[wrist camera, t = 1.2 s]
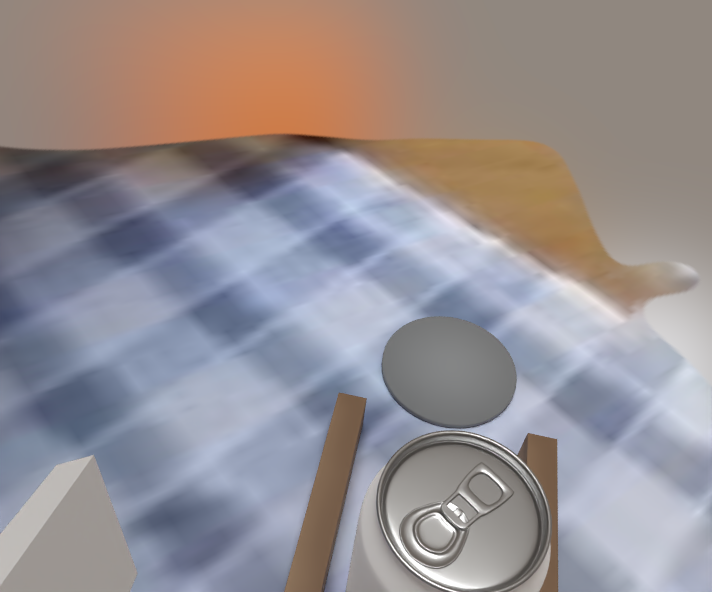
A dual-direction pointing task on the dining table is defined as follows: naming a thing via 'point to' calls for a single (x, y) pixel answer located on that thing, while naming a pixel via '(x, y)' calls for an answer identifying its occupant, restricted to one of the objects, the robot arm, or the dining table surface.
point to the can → (452, 520)
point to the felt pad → (449, 372)
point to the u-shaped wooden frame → (333, 485)
